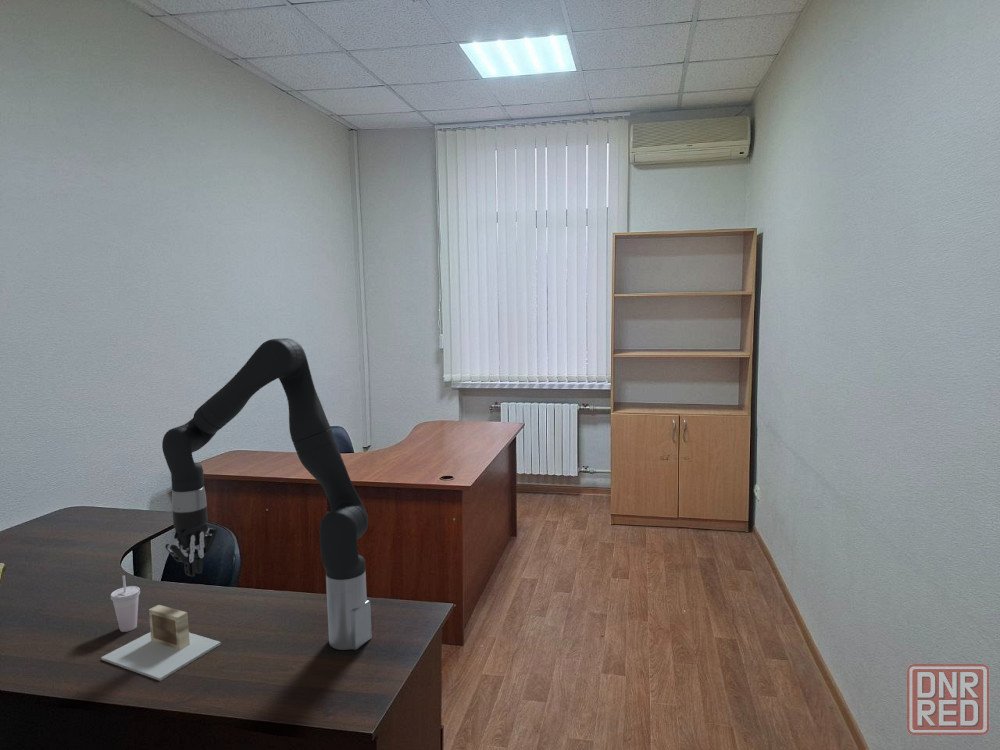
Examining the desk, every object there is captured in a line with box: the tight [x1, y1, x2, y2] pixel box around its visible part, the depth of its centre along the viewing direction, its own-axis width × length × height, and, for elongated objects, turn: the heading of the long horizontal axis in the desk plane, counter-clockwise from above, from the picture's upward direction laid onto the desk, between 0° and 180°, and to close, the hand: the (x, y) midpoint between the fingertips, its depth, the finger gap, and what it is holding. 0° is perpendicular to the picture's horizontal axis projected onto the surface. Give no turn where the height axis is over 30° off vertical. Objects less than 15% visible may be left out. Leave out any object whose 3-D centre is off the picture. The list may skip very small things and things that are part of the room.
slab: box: [148, 604, 190, 650], centre depth 150 cm, size 10×3×8 cm, turn 66°
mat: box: [100, 632, 222, 682], centre depth 147 cm, size 20×16×1 cm
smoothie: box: [110, 574, 141, 633], centre depth 158 cm, size 6×6×14 cm
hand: (194, 573), depth 155 cm, fingers closed
